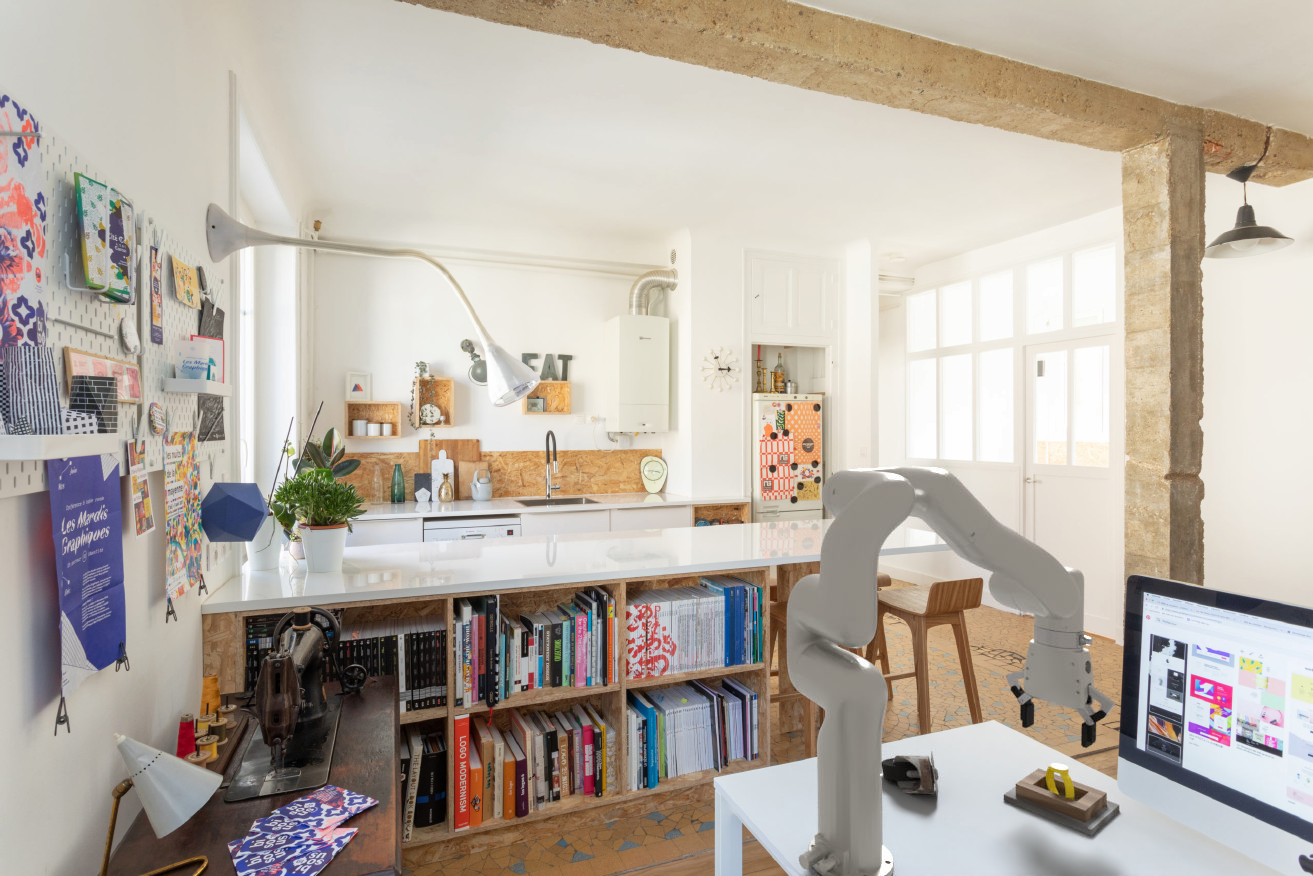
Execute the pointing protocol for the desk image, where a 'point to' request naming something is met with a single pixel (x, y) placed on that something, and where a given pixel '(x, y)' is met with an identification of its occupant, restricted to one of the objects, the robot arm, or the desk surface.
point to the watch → (1065, 776)
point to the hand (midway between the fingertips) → (1056, 735)
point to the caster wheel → (912, 773)
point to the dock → (1063, 802)
